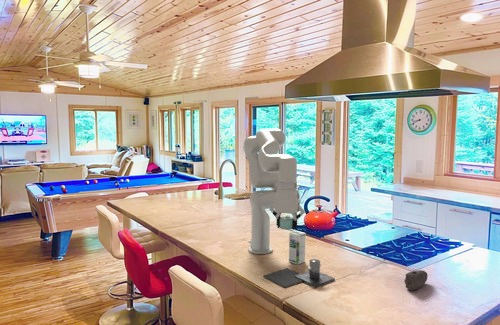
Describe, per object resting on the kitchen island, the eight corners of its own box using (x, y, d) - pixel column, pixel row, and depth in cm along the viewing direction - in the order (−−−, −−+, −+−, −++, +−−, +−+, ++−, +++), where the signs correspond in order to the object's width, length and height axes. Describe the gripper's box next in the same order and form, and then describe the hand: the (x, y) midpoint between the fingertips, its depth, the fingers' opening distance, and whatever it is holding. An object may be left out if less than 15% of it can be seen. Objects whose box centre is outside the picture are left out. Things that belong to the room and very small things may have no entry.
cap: (282, 225, 161) (282, 214, 161) (295, 226, 159) (295, 215, 158) (277, 228, 156) (277, 217, 155) (291, 230, 153) (291, 218, 153)
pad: (263, 276, 161) (263, 275, 161) (287, 269, 169) (287, 268, 169) (284, 288, 150) (284, 286, 150) (309, 279, 158) (309, 278, 158)
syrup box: (288, 261, 178) (288, 232, 177) (295, 258, 183) (296, 230, 181) (297, 265, 174) (298, 235, 173) (305, 261, 179) (305, 232, 177)
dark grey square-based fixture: (294, 277, 160) (294, 259, 159) (313, 271, 167) (314, 254, 166) (315, 287, 150) (315, 268, 149) (334, 280, 157) (335, 262, 157)
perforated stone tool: (420, 280, 158) (421, 264, 157) (432, 284, 154) (433, 268, 153) (400, 289, 149) (400, 272, 149) (412, 294, 145) (413, 277, 144)
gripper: (309, 186, 156) (308, 228, 157) (271, 183, 162) (270, 223, 164) (305, 188, 149) (304, 232, 151) (264, 186, 155) (264, 228, 157)
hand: (286, 227), depth 157 cm, fingers closed on cap, 6 cm apart
